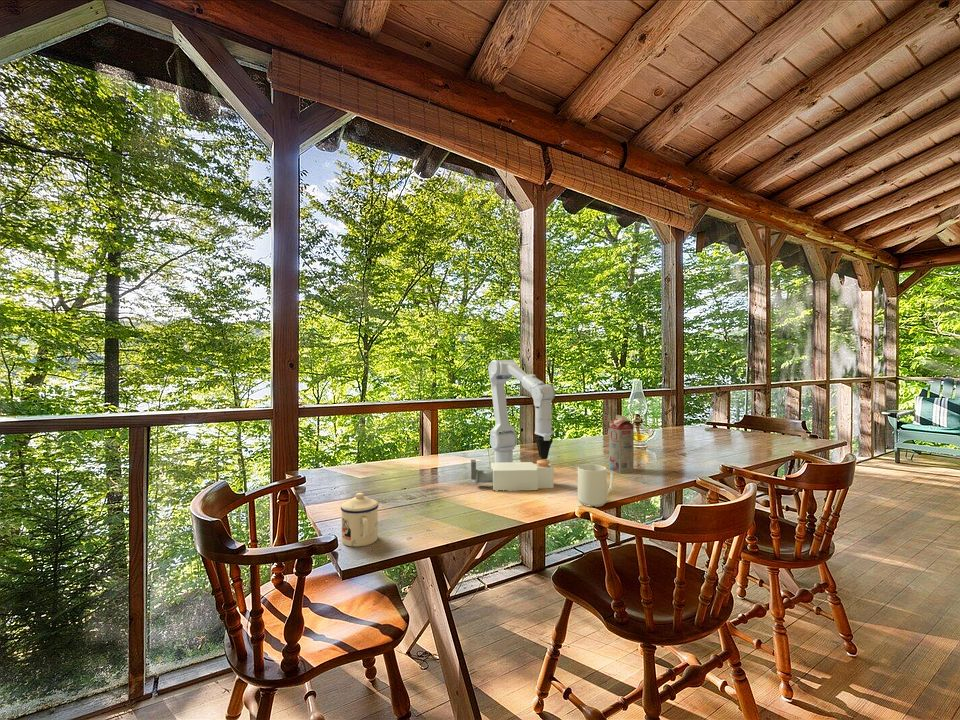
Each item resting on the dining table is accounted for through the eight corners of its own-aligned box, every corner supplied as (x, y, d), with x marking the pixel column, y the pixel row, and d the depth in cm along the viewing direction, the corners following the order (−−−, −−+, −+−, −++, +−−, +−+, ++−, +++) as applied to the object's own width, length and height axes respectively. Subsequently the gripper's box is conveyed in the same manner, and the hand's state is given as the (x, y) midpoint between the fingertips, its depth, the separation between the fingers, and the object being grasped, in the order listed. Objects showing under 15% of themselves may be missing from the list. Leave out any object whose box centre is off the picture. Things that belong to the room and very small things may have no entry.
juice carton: (619, 473, 185) (619, 416, 185) (609, 469, 191) (609, 414, 191) (633, 471, 187) (633, 416, 187) (623, 468, 194) (623, 414, 193)
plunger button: (535, 470, 170) (535, 459, 170) (548, 469, 170) (548, 459, 170) (537, 473, 165) (537, 462, 165) (551, 473, 165) (551, 462, 165)
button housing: (490, 481, 173) (490, 462, 173) (548, 481, 174) (548, 461, 174) (493, 491, 161) (493, 470, 161) (555, 490, 162) (555, 469, 162)
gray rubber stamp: (470, 481, 169) (470, 459, 169) (505, 481, 169) (505, 459, 169) (471, 485, 164) (471, 462, 164) (506, 484, 165) (506, 462, 164)
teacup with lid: (337, 537, 120) (337, 491, 120) (373, 531, 124) (373, 486, 124) (346, 555, 110) (346, 504, 109) (385, 548, 113) (385, 499, 113)
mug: (587, 509, 142) (587, 472, 142) (572, 500, 151) (572, 465, 150) (621, 505, 146) (621, 468, 146) (604, 496, 154) (604, 462, 154)
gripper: (559, 421, 160) (559, 462, 160) (550, 416, 175) (550, 453, 175) (538, 421, 160) (538, 462, 160) (531, 416, 174) (531, 453, 175)
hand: (543, 457), depth 167 cm, fingers open, 3 cm apart
